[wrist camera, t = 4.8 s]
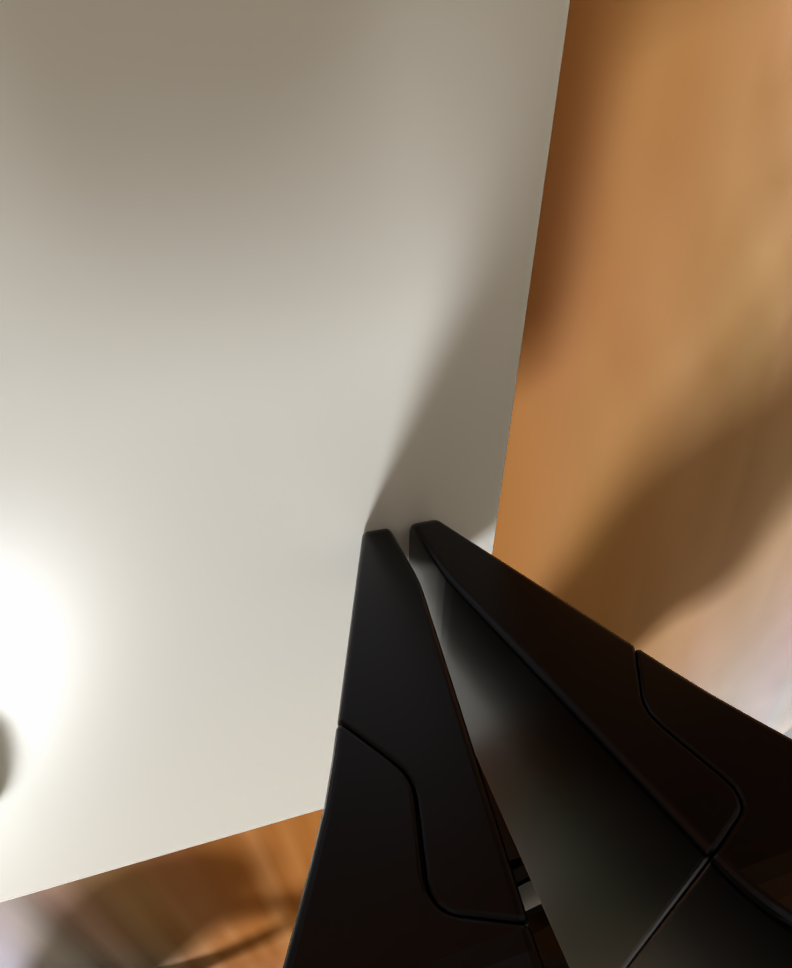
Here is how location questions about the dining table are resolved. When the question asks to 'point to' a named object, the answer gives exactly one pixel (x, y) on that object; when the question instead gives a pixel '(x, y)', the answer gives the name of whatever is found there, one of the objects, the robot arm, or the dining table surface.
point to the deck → (237, 380)
